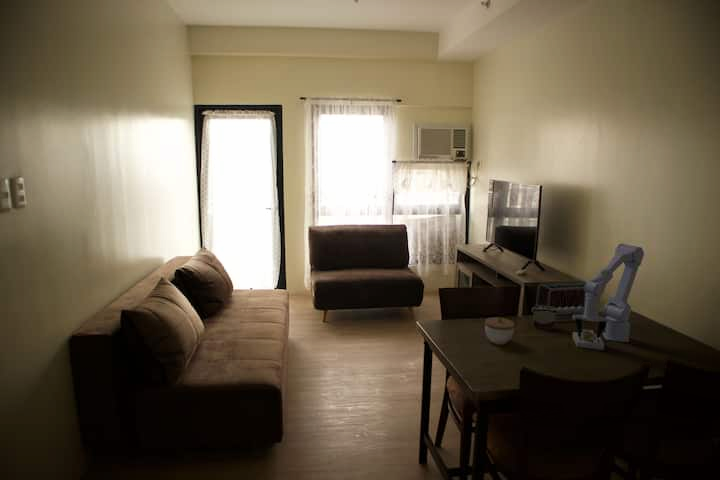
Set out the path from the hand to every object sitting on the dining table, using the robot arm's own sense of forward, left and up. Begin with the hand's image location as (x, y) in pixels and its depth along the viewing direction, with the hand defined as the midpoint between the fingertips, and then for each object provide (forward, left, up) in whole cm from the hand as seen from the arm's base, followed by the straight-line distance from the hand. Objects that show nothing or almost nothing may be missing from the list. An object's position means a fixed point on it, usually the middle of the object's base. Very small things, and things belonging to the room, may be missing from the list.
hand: (588, 336), depth 215 cm
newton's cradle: (+5, -33, -4) cm, 34 cm away
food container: (+18, -17, -4) cm, 25 cm away
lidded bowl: (+39, +10, -4) cm, 40 cm away
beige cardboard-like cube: (0, 0, -3) cm, 3 cm away
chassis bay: (0, 0, -3) cm, 3 cm away
